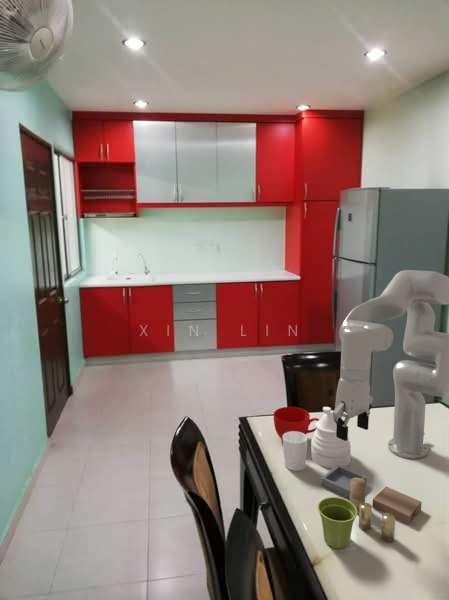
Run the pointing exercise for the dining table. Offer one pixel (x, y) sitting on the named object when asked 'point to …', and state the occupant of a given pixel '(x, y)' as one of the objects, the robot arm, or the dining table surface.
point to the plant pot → (337, 520)
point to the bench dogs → (387, 522)
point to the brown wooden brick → (397, 505)
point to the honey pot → (329, 443)
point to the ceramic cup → (292, 420)
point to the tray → (340, 480)
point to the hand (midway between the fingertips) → (352, 433)
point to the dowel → (357, 492)
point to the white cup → (294, 450)
